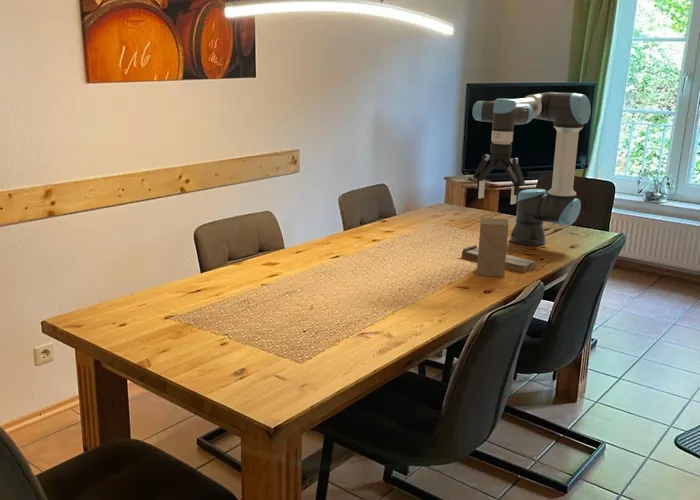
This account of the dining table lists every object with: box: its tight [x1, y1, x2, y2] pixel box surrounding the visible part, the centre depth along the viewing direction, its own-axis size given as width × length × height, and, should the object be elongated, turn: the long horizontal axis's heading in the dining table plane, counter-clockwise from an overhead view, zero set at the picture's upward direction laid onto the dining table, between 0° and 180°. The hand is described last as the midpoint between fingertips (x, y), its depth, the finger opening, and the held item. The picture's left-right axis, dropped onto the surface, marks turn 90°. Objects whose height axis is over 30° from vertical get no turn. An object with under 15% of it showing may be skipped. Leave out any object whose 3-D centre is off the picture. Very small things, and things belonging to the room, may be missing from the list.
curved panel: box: [461, 244, 537, 273], centre depth 273 cm, size 9×28×4 cm, turn 47°
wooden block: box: [476, 217, 510, 278], centre depth 257 cm, size 10×10×20 cm
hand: (496, 200), depth 253 cm, fingers open, 13 cm apart
